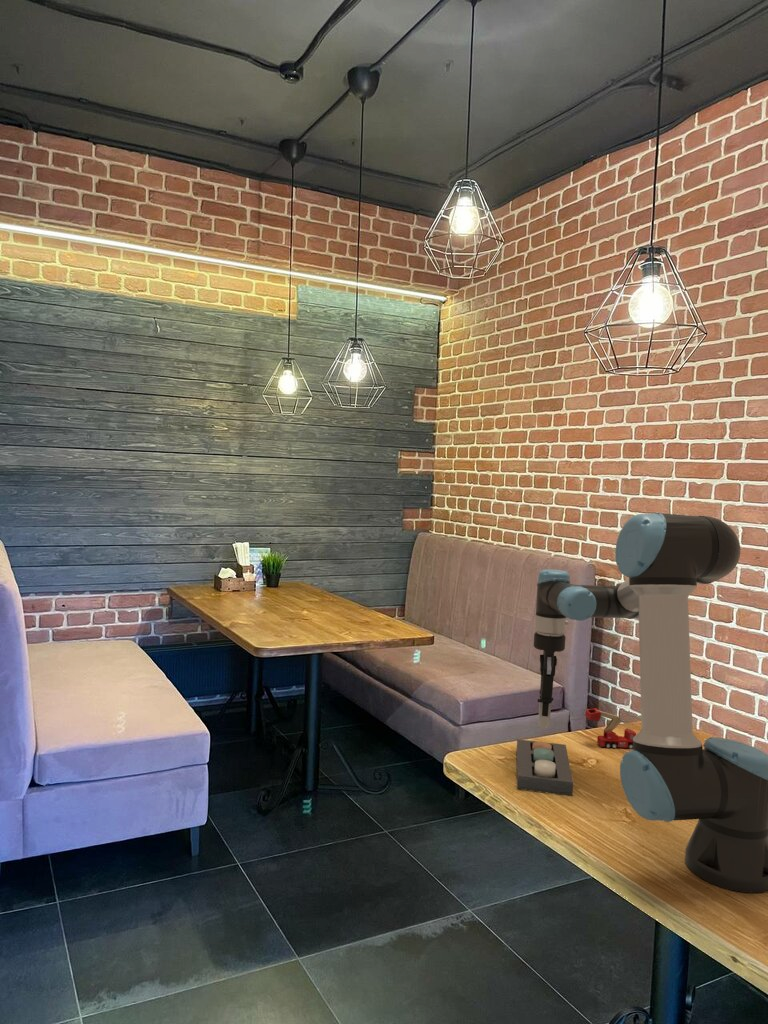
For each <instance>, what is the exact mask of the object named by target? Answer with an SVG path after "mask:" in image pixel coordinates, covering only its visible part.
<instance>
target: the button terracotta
mask: <svg viewBox="0 0 768 1024" xmlns="http://www.w3.org/2000/svg"><path fill="white" fill-rule="evenodd" d="M548 743H549V742H546V743H545V741H537V742H534V743H533V746H532V750H533V751H534V749H535V748H548V749H551V748H552V746H551V745H550V744H548Z"/></svg>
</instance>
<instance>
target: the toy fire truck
mask: <svg viewBox="0 0 768 1024" xmlns="http://www.w3.org/2000/svg"><path fill="white" fill-rule="evenodd" d="M585 717H586V719H588V721H595V722H600V719H601V717H604V718H606V719H610V721H609V722H608V724H607V725H606V726H605V728H604V729H603V735H597V737H596V739H597V740H596V741H597V744H598V745H599V746H600V747H603V748H604V747H605V748H606V749H610V748H612V749H617V747H618V748H627V749H630V750H633V737H635V736H636V735H637V733H636V732H635V731H634V730H632V729H631V728H630V729H629V728H625V729H624V733H623V735H622V736H621V735H620V736H619V735H618V734H617V733H616V732H614V730H615V728H617V727H618V726H619V725H620V724H621V723H622V722H623V720H622V719H621V718H620V717H619V716H618V715H617V714H612V713H609V712H606V711H601V710H599V709H598V708H597V707H594V708H589V709H586V710H585Z"/></svg>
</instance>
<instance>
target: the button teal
mask: <svg viewBox="0 0 768 1024" xmlns="http://www.w3.org/2000/svg"><path fill="white" fill-rule="evenodd" d="M553 756H554V752H553V751H552V750H551V749H548V748H535V749H534V757H533V763H535V761H537V760H548V761H551V762H553Z"/></svg>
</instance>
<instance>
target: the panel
mask: <svg viewBox="0 0 768 1024" xmlns="http://www.w3.org/2000/svg"><path fill="white" fill-rule="evenodd" d="M534 742H538V741H535V740H529V739H528V740H526V739H520V738H519V739H518V738H517V739H516V750H515V751H516V789H517V790H521V789H526V790H525V791H529V790H534V791H533V792H537V791H541V792H540V793H545V792H548V794H553V793H555V795H563V796H570V797H573V793H574V792H573V791H574V790H573V789H574V779H573V774H572V770H571V764H570V760H569V754H568V749H567V744H562V743H555V742H554V743H553V742H545V741H544V742H545V743H548V744H550V745H551V746H552V748H551V750H552V751H553V752H554V756H553V762H554V763H555V764H556V768H555V778H549V777H540V776H534V769H535V763H533V757H534V751H533V750H532V746H533V743H534Z"/></svg>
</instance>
